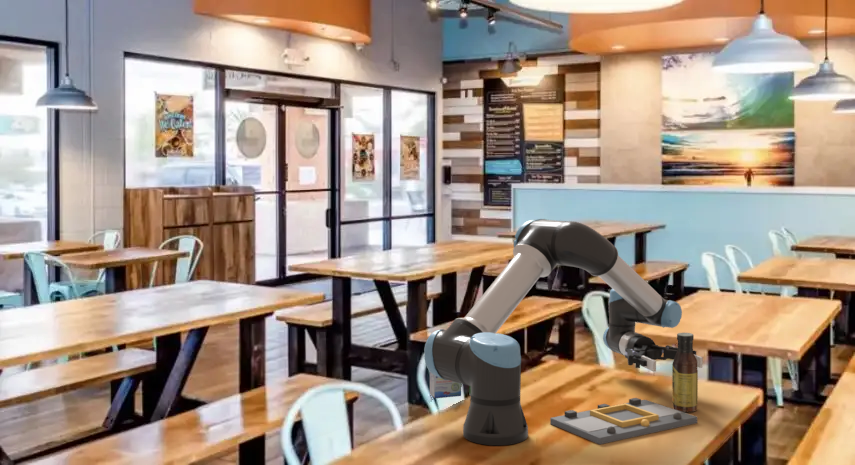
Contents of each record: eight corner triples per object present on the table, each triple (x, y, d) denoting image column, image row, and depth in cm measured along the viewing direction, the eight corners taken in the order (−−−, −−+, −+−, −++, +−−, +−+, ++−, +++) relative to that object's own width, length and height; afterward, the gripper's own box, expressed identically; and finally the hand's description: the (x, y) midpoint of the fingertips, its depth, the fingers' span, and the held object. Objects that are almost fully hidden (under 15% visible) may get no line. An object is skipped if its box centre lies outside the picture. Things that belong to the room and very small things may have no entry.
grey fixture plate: (599, 444, 200) (599, 431, 200) (550, 423, 216) (550, 412, 216) (697, 422, 216) (697, 411, 215) (644, 405, 231) (645, 394, 231)
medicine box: (433, 398, 239) (433, 367, 238) (429, 394, 243) (429, 363, 243) (461, 396, 241) (461, 365, 240) (456, 392, 245) (456, 361, 245)
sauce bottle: (678, 405, 231) (679, 330, 229) (701, 409, 227) (702, 333, 225) (667, 410, 226) (668, 334, 224) (691, 415, 222) (692, 337, 220)
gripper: (677, 357, 254) (719, 375, 234) (597, 363, 247) (634, 382, 227) (677, 331, 253) (720, 347, 233) (597, 337, 247) (635, 353, 226)
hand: (678, 364), depth 230 cm, fingers open, 13 cm apart
